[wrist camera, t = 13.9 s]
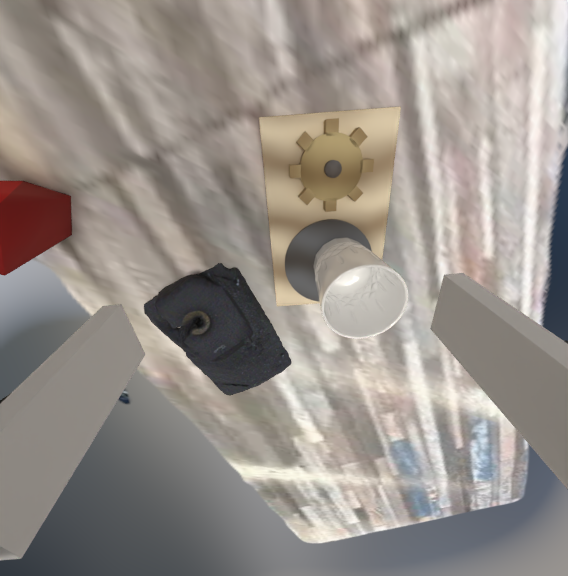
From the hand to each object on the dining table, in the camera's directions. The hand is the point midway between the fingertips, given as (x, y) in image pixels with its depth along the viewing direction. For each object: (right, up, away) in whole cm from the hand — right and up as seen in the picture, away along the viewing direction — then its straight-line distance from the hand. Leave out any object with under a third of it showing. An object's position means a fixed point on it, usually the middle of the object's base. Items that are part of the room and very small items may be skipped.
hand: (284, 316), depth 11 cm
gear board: (+5, +10, +21) cm, 23 cm away
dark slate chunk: (-9, -6, +29) cm, 31 cm away
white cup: (+7, +4, +21) cm, 23 cm away
